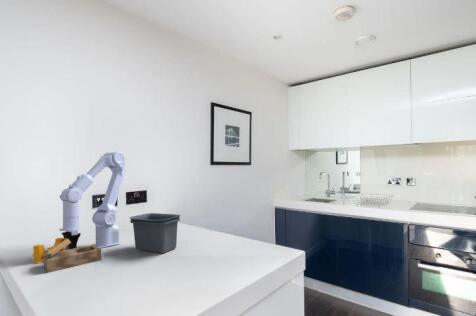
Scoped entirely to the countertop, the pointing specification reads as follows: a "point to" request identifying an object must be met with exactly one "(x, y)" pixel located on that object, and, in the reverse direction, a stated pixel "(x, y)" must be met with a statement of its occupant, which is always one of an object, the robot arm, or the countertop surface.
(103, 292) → the countertop surface
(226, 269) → the countertop surface
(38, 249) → the pipe clamp
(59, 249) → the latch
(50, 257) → the wooden box
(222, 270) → the countertop surface
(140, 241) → the storage bin
